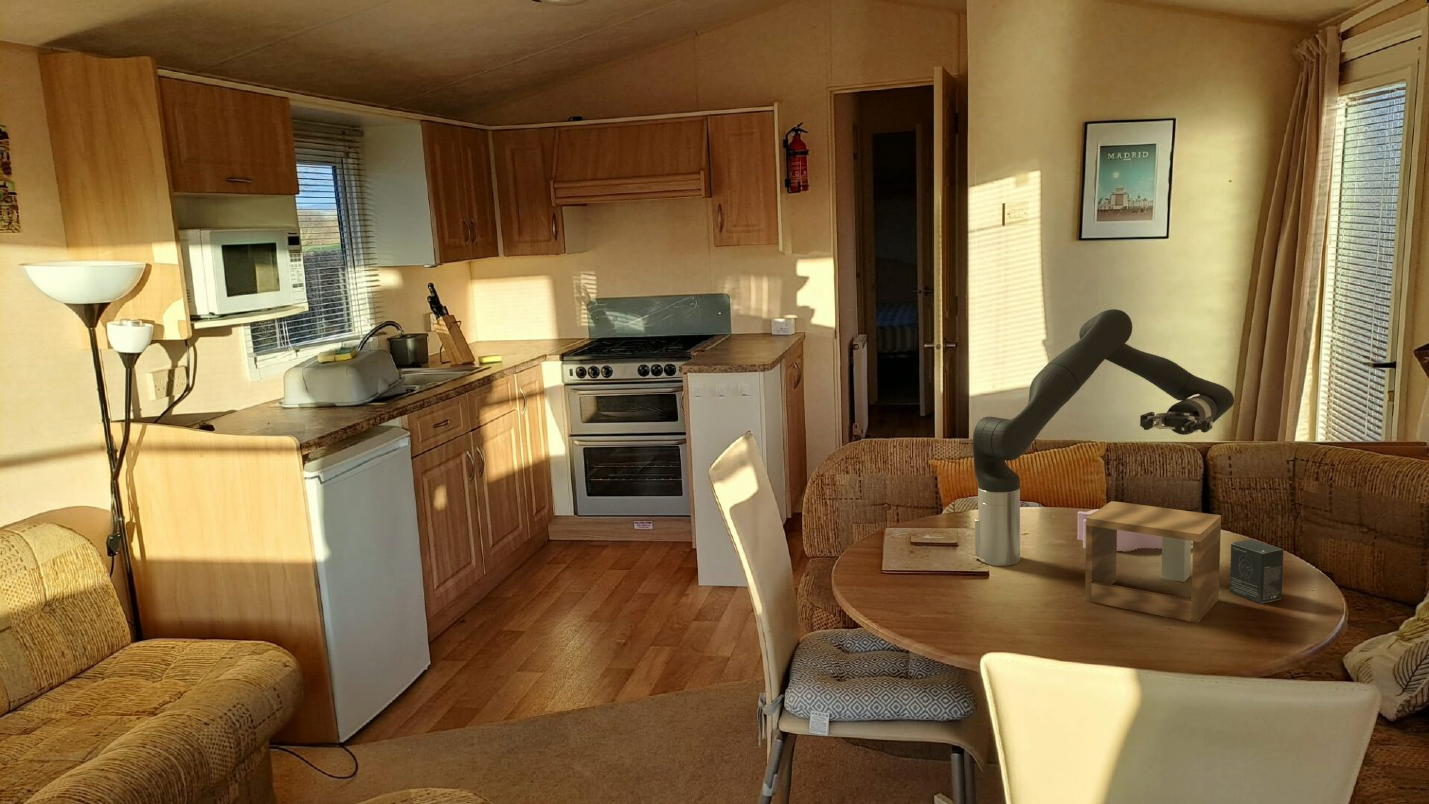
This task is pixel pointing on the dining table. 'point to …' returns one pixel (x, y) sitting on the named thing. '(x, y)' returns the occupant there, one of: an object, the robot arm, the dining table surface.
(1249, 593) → the box
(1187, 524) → the shelf
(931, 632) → the dining table surface
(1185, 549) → the block
